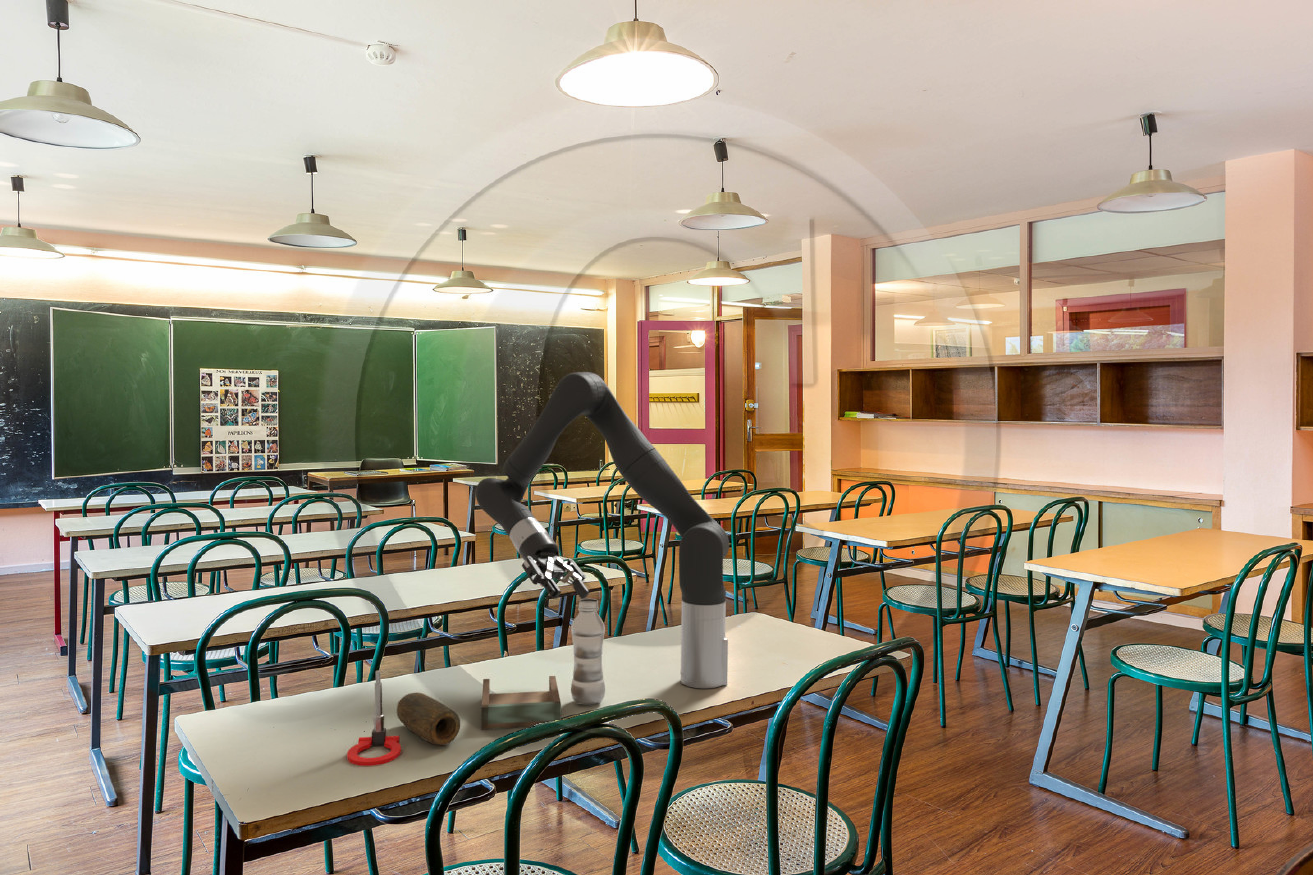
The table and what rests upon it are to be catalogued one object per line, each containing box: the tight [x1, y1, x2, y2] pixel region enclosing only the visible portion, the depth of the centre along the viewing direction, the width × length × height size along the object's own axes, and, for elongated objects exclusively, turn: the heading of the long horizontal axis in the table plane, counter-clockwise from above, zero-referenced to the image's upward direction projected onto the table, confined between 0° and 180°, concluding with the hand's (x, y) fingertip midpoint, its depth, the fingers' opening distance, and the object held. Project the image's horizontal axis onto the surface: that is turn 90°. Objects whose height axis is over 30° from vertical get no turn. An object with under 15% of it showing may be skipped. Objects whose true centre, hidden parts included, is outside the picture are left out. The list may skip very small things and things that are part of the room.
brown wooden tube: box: [396, 692, 461, 746], centre depth 149 cm, size 15×7×7 cm, turn 43°
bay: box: [480, 675, 562, 731], centre depth 161 cm, size 14×16×4 cm
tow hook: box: [346, 670, 402, 767], centre depth 141 cm, size 8×13×9 cm
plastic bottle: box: [570, 598, 606, 706], centre depth 166 cm, size 6×7×20 cm
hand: (572, 596), depth 177 cm, fingers open, 8 cm apart
